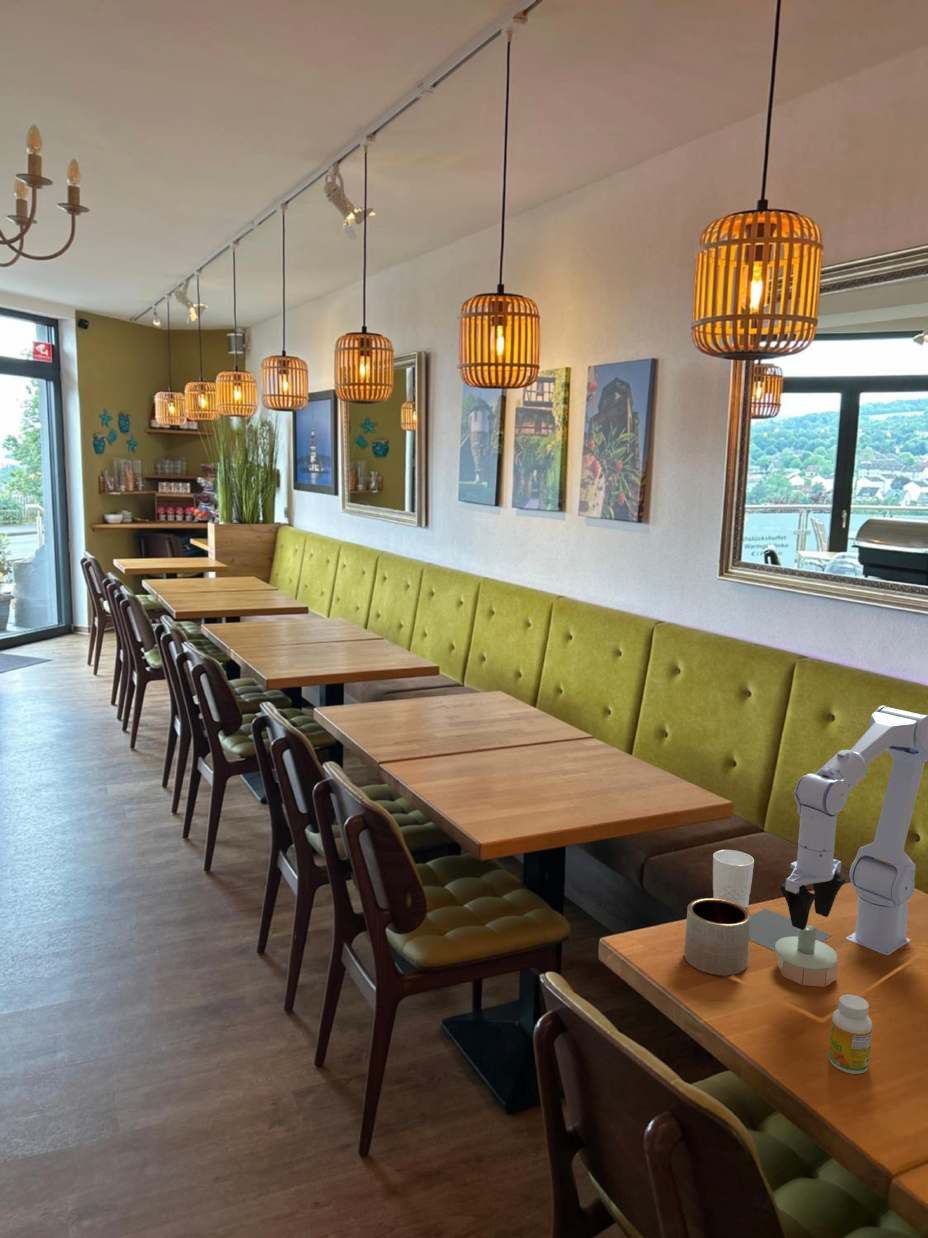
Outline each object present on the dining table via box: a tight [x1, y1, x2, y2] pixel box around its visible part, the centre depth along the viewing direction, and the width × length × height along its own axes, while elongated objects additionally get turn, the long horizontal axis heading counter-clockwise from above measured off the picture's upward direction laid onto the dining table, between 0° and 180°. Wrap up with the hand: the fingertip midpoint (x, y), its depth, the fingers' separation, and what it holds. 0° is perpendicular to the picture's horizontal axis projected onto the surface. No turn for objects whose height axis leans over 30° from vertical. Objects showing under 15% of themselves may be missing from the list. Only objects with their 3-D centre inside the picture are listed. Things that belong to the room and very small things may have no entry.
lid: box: [774, 924, 838, 970], centre depth 156 cm, size 10×10×5 cm
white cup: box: [712, 849, 755, 909], centre depth 182 cm, size 8×8×10 cm
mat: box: [749, 908, 833, 952], centre depth 170 cm, size 14×14×1 cm
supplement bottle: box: [828, 993, 873, 1075], centre depth 131 cm, size 5×5×10 cm
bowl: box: [776, 956, 839, 987], centre depth 156 cm, size 9×9×4 cm
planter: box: [684, 897, 751, 977], centre depth 160 cm, size 11×11×10 cm
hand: (810, 921), depth 155 cm, fingers open, 7 cm apart
